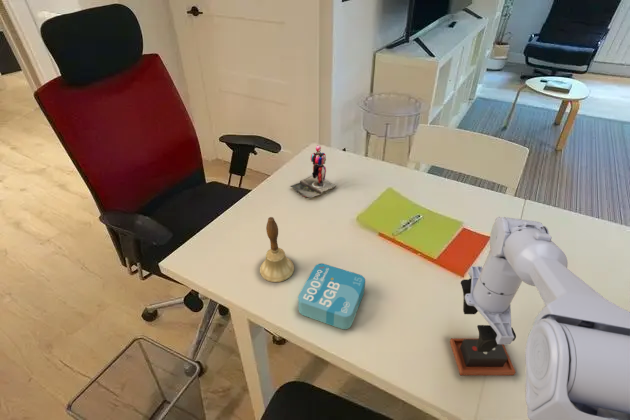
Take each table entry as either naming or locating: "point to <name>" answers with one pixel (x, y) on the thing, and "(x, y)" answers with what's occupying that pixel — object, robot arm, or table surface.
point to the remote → (482, 355)
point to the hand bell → (275, 258)
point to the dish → (464, 370)
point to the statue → (315, 177)
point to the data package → (332, 296)
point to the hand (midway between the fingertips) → (475, 330)
